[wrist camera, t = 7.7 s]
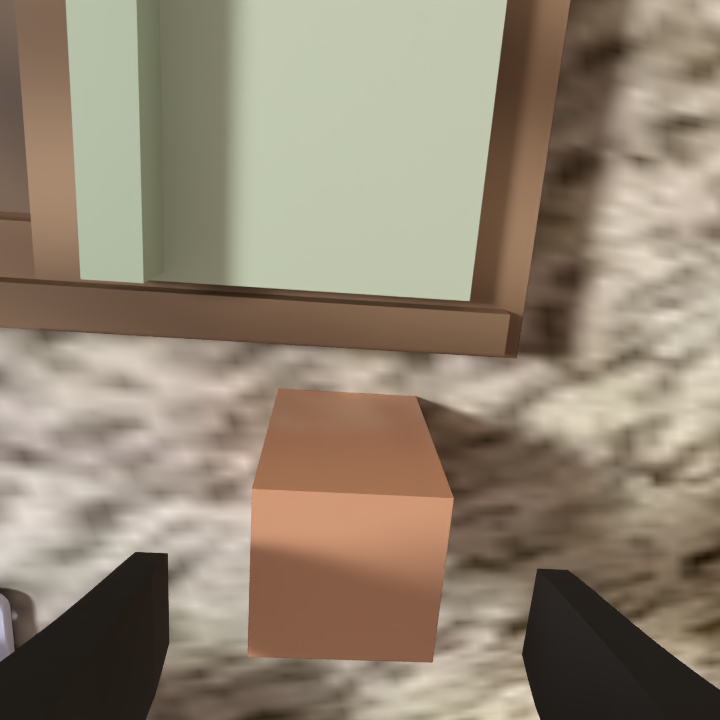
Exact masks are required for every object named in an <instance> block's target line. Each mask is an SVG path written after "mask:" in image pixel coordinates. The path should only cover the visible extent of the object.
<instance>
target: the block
mask: <svg viewBox="0 0 720 720" xmlns="http://www.w3.org/2000/svg"><path fill="white" fill-rule="evenodd" d="M453 501H454V497H453V495H452V492H451V489H450V487H449V484H448V481H447V479H446V476H445V473H444V470H443V468H442V465H441V462H440V460H439V457H438V454H437V452H436V449H435V446H434V444H433V441H432V438H431V436H430V433H429V430H428V428H427V425H426V422H425V419H424V417H423V414H422V411H421V409H420V406H419V403H418V401H417V398H416V396H402V395H384V394H366V393H348V392H330V391H312V390H294V389H278V393H277V397H276V400H275V404H274V408H273V412H272V416H271V419H270V423H269V427H268V431H267V434H266V438H265V442H264V446H263V450H262V453H261V457H260V461H259V465H258V469H257V472H256V476H255V480H254V484H253V487H252V512H251V549H250V587H249V624H248V657H269V658H302V659H335V660H368V661H401V662H433V655H434V648H435V640H436V632H437V625H438V617H439V609H440V601H441V594H442V586H443V578H444V570H445V563H446V555H447V547H448V540H449V532H450V524H451V516H452V509H453Z"/></svg>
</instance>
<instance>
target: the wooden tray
mask: <svg viewBox="0 0 720 720" xmlns="http://www.w3.org/2000/svg"><path fill="white" fill-rule="evenodd" d="M569 7H570V0H507V5H506V13H505V21H504V29H503V37H502V45H501V53H500V61H499V70H498V78H497V86H496V94H495V102H494V110H493V118H492V126H491V134H490V142H489V150H488V158H487V166H486V174H485V182H484V190H483V198H482V206H481V214H480V222H479V230H478V238H477V246H476V254H475V262H474V270H473V278H472V286H471V294H470V301H460V300H444V299H429V298H414V297H398V296H383V295H368V294H352V293H337V292H322V291H306V290H291V289H276V288H260V287H245V286H230V285H214V284H199V283H184V282H168V281H153V280H149V281H147V282H145V283H131V282H115V281H100V280H84V279H81V278H80V259H79V240H78V222H77V203H76V185H75V166H74V148H73V129H72V110H71V92H70V73H69V55H68V36H67V18H66V0H0V327H3V328H20V329H36V330H53V331H70V332H86V333H103V334H120V335H137V336H153V337H170V338H187V339H203V340H220V341H237V342H253V343H270V344H287V345H304V346H320V347H337V348H354V349H370V350H387V351H404V352H421V353H437V354H454V355H471V356H487V357H504V358H517V352H518V346H519V339H520V332H521V326H522V319H523V312H524V306H525V299H526V292H527V286H528V279H529V272H530V266H531V259H532V253H533V246H534V239H535V233H536V226H537V219H538V213H539V206H540V199H541V193H542V186H543V179H544V173H545V166H546V159H547V153H548V146H549V140H550V133H551V126H552V120H553V113H554V106H555V100H556V93H557V86H558V80H559V73H560V66H561V60H562V53H563V46H564V40H565V33H566V27H567V20H568V13H569Z"/></svg>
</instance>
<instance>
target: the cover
mask: <svg viewBox="0 0 720 720" xmlns="http://www.w3.org/2000/svg"><path fill="white" fill-rule="evenodd" d="M506 5H507V0H66V18H67V36H68V55H69V73H70V92H71V110H72V129H73V148H74V166H75V185H76V203H77V222H78V240H79V259H80V278H81V279H84V280H100V281H115V282H131V283H145V282H147V281H149V280H153V281H168V282H184V283H199V284H214V285H230V286H245V287H260V288H276V289H291V290H306V291H322V292H337V293H352V294H368V295H383V296H398V297H414V298H429V299H444V300H460V301H470V294H471V286H472V278H473V270H474V262H475V254H476V246H477V238H478V230H479V222H480V214H481V206H482V198H483V190H484V182H485V174H486V166H487V158H488V150H489V142H490V134H491V126H492V118H493V110H494V102H495V94H496V86H497V78H498V70H499V61H500V53H501V45H502V37H503V29H504V21H505V13H506Z"/></svg>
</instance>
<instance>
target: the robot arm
mask: <svg viewBox="0 0 720 720" xmlns="http://www.w3.org/2000/svg"><path fill="white" fill-rule="evenodd" d="M168 645H169V599H168V553H145V552H135V553H134V554H133V555H131V556H130V557H129V558H128V559H127V560H125V561H124V562H123V563H122V564H121V565H120V566H118V567H117V568H116V569H115V570H114V571H113V572H111V573H110V574H109V575H108V576H107V577H106V578H105V579H103V580H102V581H101V582H100V583H99V584H98V585H97V586H95V587H94V588H93V589H92V590H91V591H90V592H88V593H87V594H86V595H85V596H84V597H83V598H81V599H80V600H79V601H78V602H77V603H75V604H74V605H73V606H72V607H71V608H69V609H68V610H67V611H66V612H65V613H63V614H62V615H61V616H60V617H59V618H57V619H56V620H55V621H54V622H52V623H51V624H50V625H49V626H47V627H46V628H45V629H43V630H42V631H41V632H39V633H38V634H37V635H35V636H34V637H33V638H31V639H30V640H29V641H28V642H26V643H25V644H24V645H22V646H21V647H20V648H18V649H17V650H16V651H15V649H14V639H13V629H12V619H11V609H10V604H9V601H8V599H7V598H6V597H5V596H4V595H2V594H0V720H146V717H147V715H148V712H149V710H150V707H151V704H152V702H153V699H154V697H155V694H156V690H157V686H158V683H159V679H160V676H161V672H162V668H163V665H164V661H165V657H166V653H167V649H168ZM522 656H523V660H524V664H525V668H526V673H527V677H528V681H529V685H530V688H531V692H532V696H533V699H534V703H535V706H536V709H537V712H538V714H539V717H540V720H720V690H719V689H718V688H716V687H715V686H714V685H712V684H711V683H709V682H708V681H706V680H705V679H704V678H702V677H701V676H700V675H698V674H697V673H696V672H694V671H693V670H691V669H690V668H689V667H687V666H686V665H685V664H683V663H682V662H681V661H679V660H678V659H677V658H675V657H674V656H673V655H671V654H670V653H669V652H668V651H666V650H665V649H664V648H662V647H661V646H660V645H659V644H657V643H656V642H655V641H654V640H652V639H651V638H650V637H649V636H647V635H646V634H645V633H644V632H642V631H641V630H640V629H639V628H638V627H636V626H635V625H634V624H633V623H631V622H630V621H629V620H628V619H627V618H625V617H624V616H623V615H622V614H621V613H620V612H618V611H617V610H616V609H615V608H614V607H612V606H611V605H610V604H609V603H608V602H606V601H605V600H604V599H603V598H602V597H601V596H599V595H598V594H597V593H596V592H595V591H593V590H592V589H591V588H590V587H589V586H587V585H586V584H585V583H584V582H583V581H581V580H580V579H579V578H578V577H576V576H575V575H574V574H572V573H571V572H570V571H568V570H555V569H537V574H536V579H535V585H534V591H533V596H532V602H531V607H530V613H529V618H528V624H527V630H526V635H525V641H524V646H523V652H522Z"/></svg>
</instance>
